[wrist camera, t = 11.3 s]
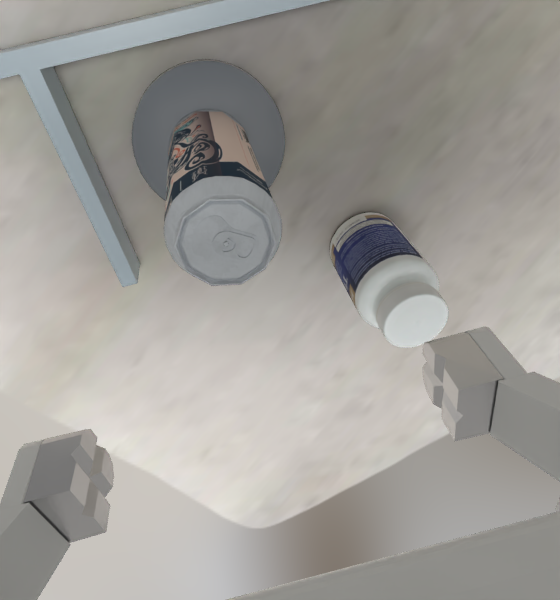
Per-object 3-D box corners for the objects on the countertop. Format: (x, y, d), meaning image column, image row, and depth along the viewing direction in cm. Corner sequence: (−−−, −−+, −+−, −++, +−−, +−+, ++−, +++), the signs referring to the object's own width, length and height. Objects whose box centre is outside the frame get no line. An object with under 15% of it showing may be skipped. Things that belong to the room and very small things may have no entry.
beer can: (180, 94, 26) (181, 169, 16) (260, 123, 27) (305, 206, 18) (160, 174, 28) (150, 281, 18) (234, 196, 30) (262, 305, 20)
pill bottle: (313, 250, 34) (353, 333, 26) (365, 196, 32) (424, 267, 25) (360, 285, 37) (409, 369, 29) (411, 236, 35) (477, 313, 27)
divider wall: (411, -48, 25) (432, -49, 23) (413, 193, 33) (428, 208, 31) (-35, 58, 24) (-55, 66, 22) (83, 278, 32) (77, 298, 30)
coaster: (266, 42, 26) (269, 44, 25) (293, 190, 31) (295, 196, 30) (108, 80, 25) (106, 83, 25) (162, 223, 31) (162, 230, 30)
